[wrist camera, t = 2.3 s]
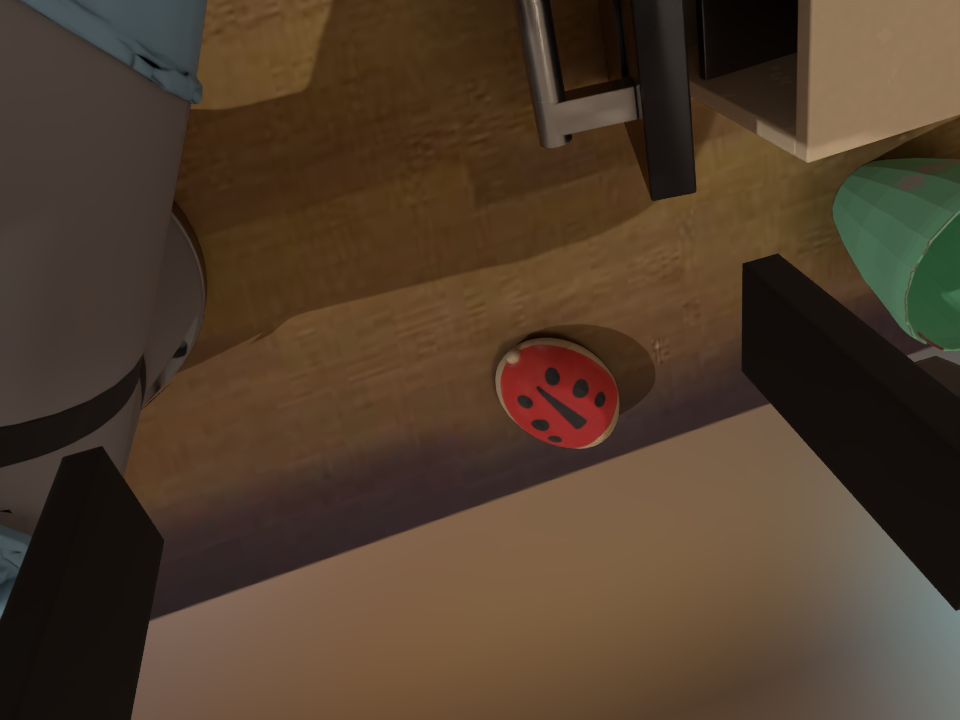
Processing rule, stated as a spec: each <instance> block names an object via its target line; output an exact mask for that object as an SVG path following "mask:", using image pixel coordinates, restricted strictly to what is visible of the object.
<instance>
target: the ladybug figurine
mask: <svg viewBox="0 0 960 720" xmlns="http://www.w3.org/2000/svg"><path fill="white" fill-rule="evenodd" d="M495 383H496V391H497V394H498V397H499V400H500V402H501V404H502V406H503V408H504V409H505V411H506V412H507V413H508V415H509V416H510V417H511V418H512V419H513V420H514V421H515V422H516V423H517V424H518V425H519V426H520V427H521V428H523V429H524V430H525V431H527V432H528V433H530V434H531V435H533V436H534V437H536V438H538V439H540V440H542V441H545V442H547V443H550V444H553V445H557V446H561V447H566V448H578V449H579V448H588V447H592V446H595V445H597V444H599V443H601V442H602V441H604V440H605V439H606V438H607V437H608V436H609V435H610V434H611V432H612V431H613V429H614V427H615V426H616V423H617V419H618V415H619V394H618V389H617V385H616V382H615V380H614V378H613V376H612V374H611V373H610V371H609V370H608V368H607V367H606V366H605V365H604V364H603V363H602V361H601V360H600V359H599V358H597V357H596V356H595V355H594V354H593V353H591V352H590V351H588V350H587V349H585V348H583V347H581V346H580V345H577V344H575V343H573V342H570V341H566V340H562V339H556V338H537V339H531V340H528V341H525V342H522V343H520V344H518V345H517V346H515V347H513V348H512V349H511V350H509V351H508V352H507V353H506V354H505V356H504V357H503V358H502V360H501V361H500V363H499V365H498V368H497V371H496V377H495Z"/></svg>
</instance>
